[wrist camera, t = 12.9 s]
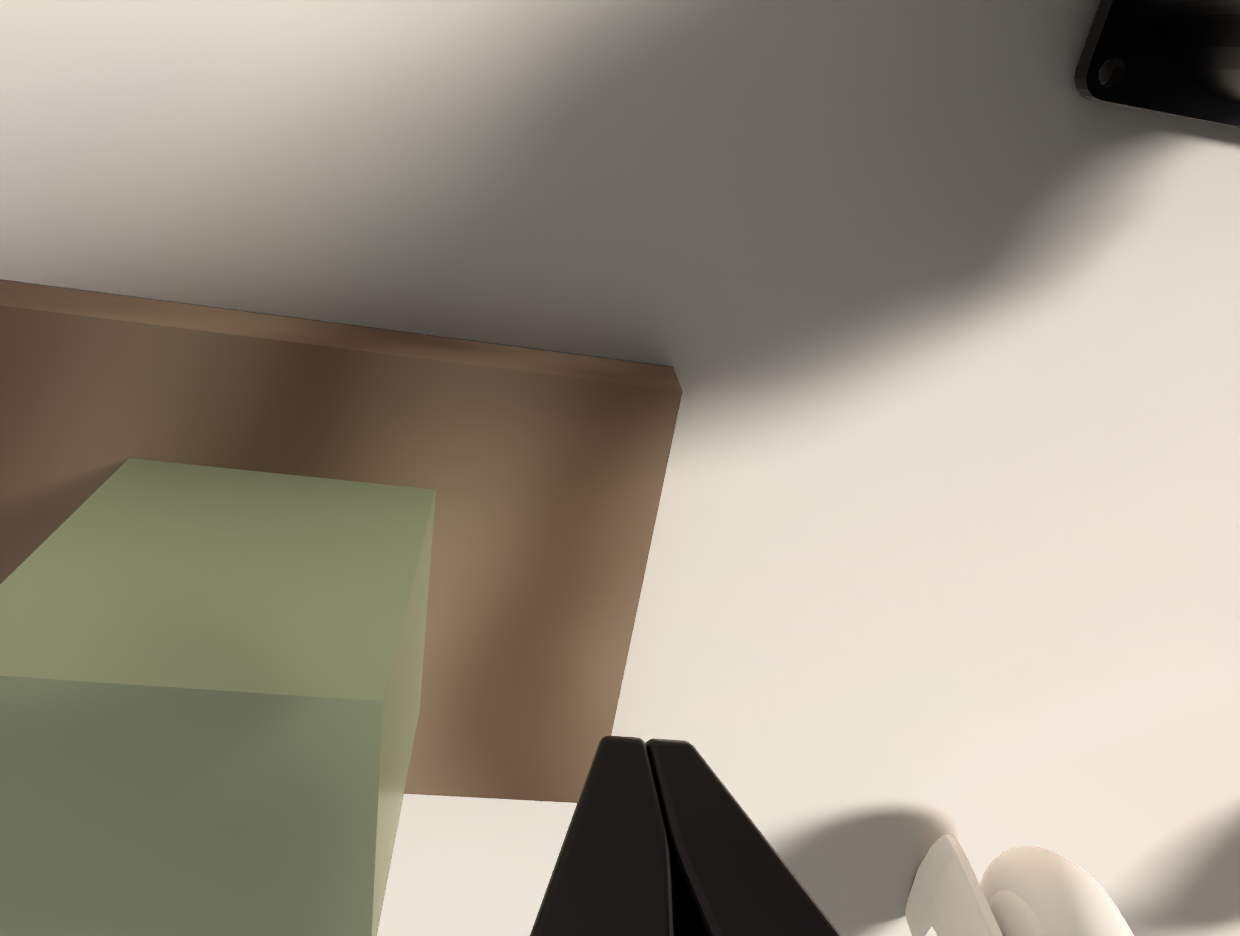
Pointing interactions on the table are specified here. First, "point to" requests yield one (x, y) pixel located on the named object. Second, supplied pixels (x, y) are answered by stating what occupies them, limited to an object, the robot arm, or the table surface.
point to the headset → (1008, 896)
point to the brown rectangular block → (383, 454)
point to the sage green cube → (211, 705)
